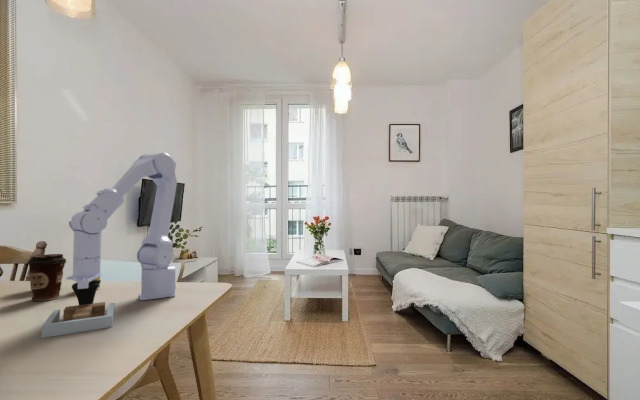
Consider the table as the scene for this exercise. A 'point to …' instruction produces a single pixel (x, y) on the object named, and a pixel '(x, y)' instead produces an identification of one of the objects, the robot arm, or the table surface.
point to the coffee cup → (46, 276)
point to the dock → (76, 323)
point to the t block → (84, 311)
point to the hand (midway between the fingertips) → (86, 310)
